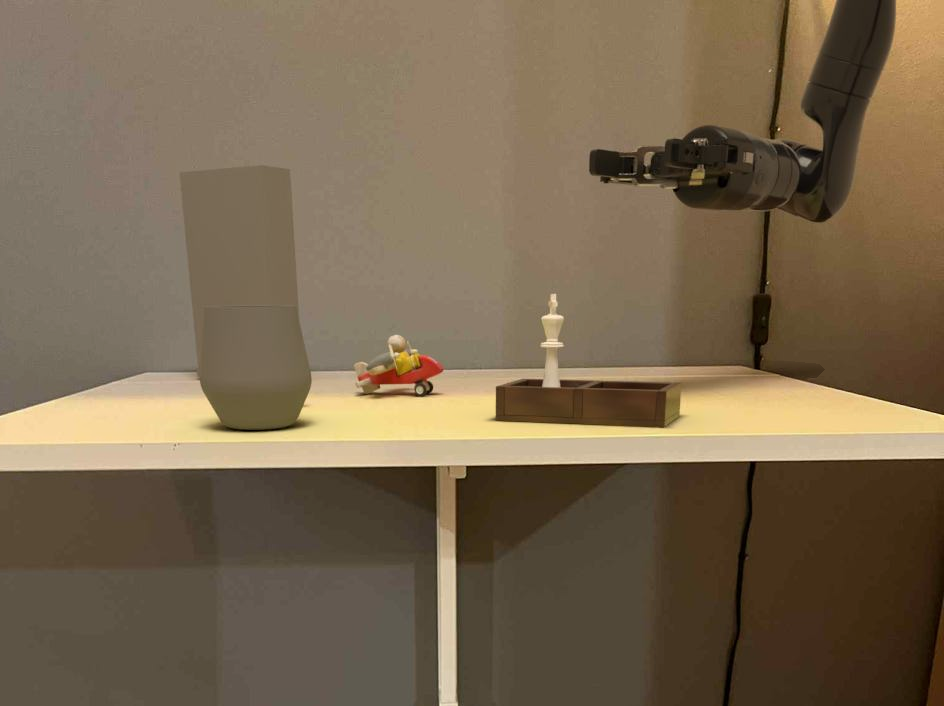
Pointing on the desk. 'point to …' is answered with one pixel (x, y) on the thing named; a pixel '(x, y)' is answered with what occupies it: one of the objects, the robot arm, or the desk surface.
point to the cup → (254, 365)
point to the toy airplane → (398, 368)
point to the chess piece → (552, 344)
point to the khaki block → (238, 239)
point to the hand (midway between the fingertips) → (629, 157)
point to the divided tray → (590, 402)
